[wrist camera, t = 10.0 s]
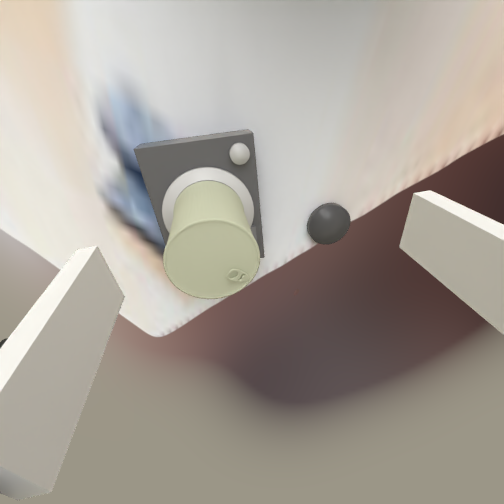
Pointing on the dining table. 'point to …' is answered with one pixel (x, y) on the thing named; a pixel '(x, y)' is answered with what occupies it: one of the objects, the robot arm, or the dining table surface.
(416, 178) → the dining table surface
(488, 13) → the dining table surface
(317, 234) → the lens cap
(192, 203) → the can
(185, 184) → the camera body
